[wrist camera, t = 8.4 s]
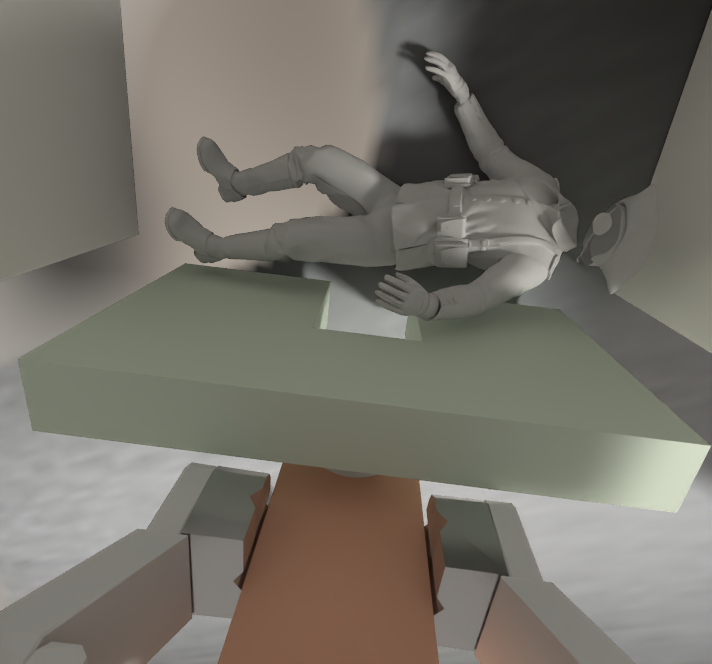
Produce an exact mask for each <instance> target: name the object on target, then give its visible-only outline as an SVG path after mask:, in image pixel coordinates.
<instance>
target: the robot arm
mask: <svg viewBox="0 0 712 664" xmlns="http://www.w3.org/2000/svg"><path fill="white" fill-rule="evenodd" d="M270 480H271V476H270V475H269V474H267V473H261V472H254V471H248V470H241V469H235V468H228V467H222V466H218V467H217V466H211V465H205V464H198V463H191V464H189V465H188V466H187V467H185V469H184V470H183V472H182V474H181V475H180V477H179V478H178V480H177V482H176V483H175V485H174V486H173V488H172V489H171V491H170V493H169V494H168V496H167V497H166V499H165V501H164V502H163V504H162V505H161V507H160V509H159V510H158V512H157V513H156V515H155V517H154V518H153V520H152V521H151V523H150V525H149V526H148V528H147V529H146V530H144V529H136V530H135V531H133V532H131V533H130V534H128V535H126V536H125V537H123V538H121V539H120V540H118V541H116V542H115V543H113V544H111V545H110V546H108V547H106V548H105V549H103V550H101V551H100V552H98V553H96V554H95V555H93V556H91V557H90V558H88V559H86V560H85V561H83V562H81V563H80V564H78V565H76V566H75V567H73V568H71V569H70V570H68V571H66V572H65V573H63V574H61V575H60V576H58V577H56V578H55V579H53V580H51V581H50V582H48V583H46V584H45V585H43V586H41V587H40V588H38V589H36V590H35V591H33V592H31V593H30V594H28V595H26V596H25V597H23V598H21V599H20V600H18V601H16V602H15V603H13V604H11V605H10V606H8V607H6V608H5V609H3V610H1V611H0V664H146V663H147V662H148V661H149V660H150V659H151V658H152V657H153V656H154V655H155V654H156V653H157V652H158V651H159V650H160V649H161V648H162V647H163V646H164V645H165V644H166V643H167V642H168V641H169V640H170V639H171V638H172V637H173V636H174V635H175V634H176V633H177V632H178V631H179V630H180V629H181V628H183V627H184V626H185V625H186V624H187V623H188V622H189V621H190V620H191V619H192V614H193V615H203V616H213V617H223V618H233V615H234V612H235V609H236V606H237V602H238V599H239V596H240V593H241V590H242V587H243V584H244V581H245V578H246V575H247V572H248V568H249V565H250V562H251V559H252V556H253V553H254V550H255V547H256V544H257V541H258V538H259V534H260V531H261V528H262V525H263V522H264V519H265V516H266V513H267V510H268V506H267V504H266V502H267V499H268V496H269V493H270ZM427 519H428V524H427V525H426V526H425V527H424V531H425V540H426V549H427V558H428V568H429V577H430V586H431V595H432V605H433V614H434V623H435V632H436V641H437V646H443V647H449V648H455V649H461V650H468V651H474V652H475V656H476V658H477V659H478V661H479V662H480V664H636V663H635V662H634V661H633V660H632V659H631V658H630V657H629V656H628V655H627V654H626V653H625V652H624V651H623V650H621V649H620V648H619V647H618V646H617V645H616V644H615V643H614V642H613V641H612V640H611V639H610V638H609V637H608V636H607V635H606V634H605V633H604V632H603V631H602V630H601V629H600V628H599V627H598V626H597V625H596V624H595V623H594V622H593V621H591V620H590V619H589V618H588V617H587V616H586V615H585V614H584V613H583V612H582V611H581V610H580V609H579V608H578V607H577V606H576V605H575V604H574V603H573V602H572V601H571V600H570V599H569V598H568V597H567V596H566V595H565V594H564V593H563V592H562V591H560V590H559V589H558V588H557V587H556V586H555V585H554V584H553V583H551V582H545V581H543V578H542V576H541V573H540V571H539V568H538V565H537V563H536V560H535V557H534V555H533V552H532V549H531V547H530V544H529V542H528V539H527V536H526V534H525V531H524V528H523V526H522V523H521V520H520V518H519V515H518V513H517V510H516V507H515V506H514V505H513V504H512V503H504V502H494V501H482V500H473V499H465V498H457V497H448V496H440V495H431V497H430V499H429V502H428V506H427Z"/></svg>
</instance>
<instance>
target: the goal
mask: <svg viewBox="0 0 712 664" xmlns="http://www.w3.org/2000/svg"><path fill="white" fill-rule="evenodd" d="M651 184H655V197H656V202H657V207H658V224H657V231H656V235H655V238H654V243H653V247H652V250H651V252H650V255H649V257H648V258H647V260H646V262H645V263H644V264H643V266H642V267H641V268H640V269H639V271H638V272H637V273H636V274H635V275H634V276H633V277H632V278H631V279H630V280H628V281H627V282H626V283H625V284H623V285H622V286H621V287H620V288H619V289H618V290H617V291H615V292H614V294H616V295H617V296H619V297H621V298H622V299H624V300H626V301H627V302H629V303H630V304H632V305H634V306H635V307H637V308H639V309H640V310H642V311H643V312H645V313H647V314H648V315H650V316H652V317H653V318H655V319H656V320H658V321H660V322H661V323H663V324H665V325H666V326H668V327H669V328H671V329H673V330H674V331H676V332H678V333H679V334H681V335H682V336H684V337H686V338H687V339H689V340H691V341H692V342H694V343H695V344H697V345H699V346H700V347H702V348H704V349H705V350H707V351H708V352H710V353H712V10H711V13H710V15H709V18H708V21H707V24H706V27H705V30H704V33H703V35H702V38H701V41H700V44H699V47H698V50H697V53H696V55H695V58H694V61H693V64H692V67H691V70H690V73H689V75H688V78H687V81H686V84H685V87H684V90H683V93H682V95H681V98H680V101H679V104H678V107H677V110H676V112H675V115H674V118H673V121H672V124H671V127H670V130H669V132H668V135H667V138H666V141H665V144H664V147H663V150H662V152H661V155H660V158H659V161H658V164H657V167H656V170H655V172H654V175H653V178H652V181H651ZM651 184H650V185H651ZM138 234H139V232H138V220H137V208H136V196H135V183H134V170H133V158H132V145H131V133H130V121H129V108H128V96H127V83H126V70H125V58H124V45H123V33H122V20H121V8H120V0H0V281H3V280H6V279H9V278H12V277H15V276H18V275H21V274H24V273H27V272H30V271H33V270H36V269H39V268H42V267H44V266H47V265H50V264H53V263H56V262H59V261H62V260H65V259H68V258H71V257H74V256H77V255H80V254H83V253H86V252H88V251H91V250H94V249H97V248H100V247H103V246H106V245H109V244H112V243H115V242H118V241H121V240H124V239H127V238H130V237H132V236H136V235H138Z"/></svg>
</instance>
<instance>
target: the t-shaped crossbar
mask: <svg viewBox="0 0 712 664" xmlns="http://www.w3.org/2000/svg"><path fill="white" fill-rule="evenodd" d="M330 287H331V281H324V280H316V279H308V278H300V277H292V276H284V275H275V274H267V273H259V272H251V271H243V270H235V269H227V268H219V267H210V266H202V265H193V264H186V263H185V264H184V265H182V266H180V267H178V268H177V269H175V270H173V271H171V272H170V273H168V274H166V275H164V276H162V277H161V278H159V279H157V280H155V281H154V282H152V283H150V284H148V285H147V286H145V287H143V288H141V289H140V290H138V291H136V292H134V293H132V294H131V295H129V296H127V297H125V298H124V299H122V300H120V301H119V302H117V303H115V304H113V305H111V306H110V307H108V308H106V309H104V310H102V311H101V312H99V313H97V314H95V315H94V316H92V317H90V318H88V319H87V320H85V321H83V322H81V323H80V324H78V325H76V326H74V327H72V328H71V329H69V330H67V331H65V332H64V333H62V334H60V335H58V336H57V337H55V338H53V339H51V340H50V341H48V342H46V343H44V344H42V345H41V346H39V347H37V348H35V349H34V350H32V351H30V352H28V353H27V354H25V355H23V356H21V357H20V358H18V363H19V368H20V373H21V378H22V382H23V387H24V392H25V397H26V402H27V406H28V411H29V416H30V421H31V426H32V430H33V431H40V432H48V433H56V434H63V435H71V436H79V437H87V438H95V439H103V440H110V441H118V442H126V443H134V444H142V445H150V446H157V447H165V448H173V449H181V450H189V451H196V452H204V453H212V454H220V455H228V456H236V457H243V458H251V459H259V460H267V461H275V462H283V463H282V466H281V470H280V473H279V476H278V479H277V482H276V485H275V488H274V491H273V494H272V497H271V500H270V504H269V507H268V510H267V513H266V516H265V519H264V522H263V525H262V528H261V531H260V534H259V538H258V541H257V544H256V547H255V550H254V553H253V556H252V559H251V562H250V565H249V568H248V572H247V575H246V578H245V581H244V584H243V587H242V590H241V593H240V596H239V599H238V602H237V606H236V609H235V612H234V615H233V618H232V621H231V624H230V627H229V630H228V633H227V636H226V640H225V643H224V646H223V649H222V652H221V655H220V658H219V661H218V664H439V660H438V651H437V641H436V632H435V623H434V614H433V605H432V595H431V586H430V577H429V568H428V558H427V549H426V540H425V531H424V521H423V512H422V503H421V494H420V484H419V480H424V481H431V482H439V483H447V484H455V485H463V486H471V487H478V488H486V489H494V490H502V491H510V492H518V493H525V494H533V495H541V496H549V497H557V498H564V499H572V500H580V501H588V502H596V503H604V504H611V505H619V506H627V507H635V508H643V509H651V510H658V511H666V512H674V513H677V512H678V510H679V508H680V506H681V504H682V502H683V500H684V498H685V496H686V494H687V492H688V490H689V488H690V486H691V484H692V482H693V481H694V479H695V477H696V475H697V473H698V471H699V469H700V467H701V465H702V463H703V461H704V459H705V457H706V455H707V453H708V451H709V449H710V447H711V445H710V444H709V443H707V442H706V441H705V440H704V439H703V438H702V437H701V436H700V435H699V434H697V433H696V432H695V431H694V430H693V429H692V428H691V427H690V426H688V425H687V424H686V423H685V422H684V421H683V420H682V419H681V418H680V417H678V416H677V415H676V414H675V413H674V412H673V411H672V410H671V409H670V408H668V407H667V406H666V405H665V404H664V403H663V402H662V401H661V400H660V399H658V398H657V397H656V396H655V395H654V394H653V393H652V392H651V391H650V390H648V389H647V388H646V387H645V386H644V385H643V384H642V383H641V382H640V381H638V380H637V379H636V378H635V377H634V376H633V375H632V374H631V373H630V372H628V371H627V370H626V369H625V368H624V367H623V366H622V365H621V364H620V363H618V362H617V361H616V360H615V359H614V358H613V357H612V356H611V355H610V354H608V353H607V352H606V351H605V350H604V349H603V348H602V347H601V346H599V345H598V344H597V343H596V342H595V341H594V340H593V339H592V338H591V337H589V336H588V335H587V334H586V333H585V332H584V331H583V330H582V329H581V328H579V327H578V326H577V325H576V324H575V323H574V322H573V321H572V320H571V319H569V318H568V317H567V316H566V315H565V314H564V313H563V312H562V311H561V310H559V309H552V308H544V307H536V306H528V305H520V304H512V303H503V304H501V305H500V306H498V307H496V308H494V309H491V310H488V311H486V312H484V313H483V314H481V315H479V316H478V317H472V318H465V319H455V320H435V321H430V322H428V321H424V320H423V319H421V318H420V317H416V316H408V319H407V325H406V331H405V339H399V338H390V337H382V336H374V335H366V334H358V333H350V332H342V331H334V330H326V327H327V320H328V309H329V298H330Z"/></svg>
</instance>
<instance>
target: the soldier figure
mask: <svg viewBox="0 0 712 664" xmlns="http://www.w3.org/2000/svg"><path fill="white" fill-rule="evenodd" d="M426 55H427V56H428V57H425V58H424V59H425V61H427V62H429V63H432V64H435V65H437V66H438V67H439V68H440V69H439V68H436V67H429V66H426V67H425V68H426V70H428V71H429V72H432V73H435V74H437V75H433V77H432V79H433V80H435V81H437V82H439V83H441V84H442V85H444V86H445V87H446V88H447V90H448V91H449V92H450V93H451V95H452V96H453V97H455V99H456V101H457V103H456V105H455V107H454V111H455V115H456V116H457V118H458V120H459V122H460V125H461V128H462V130H463V132H464V135H465V137H466V140H467V143H468V145H469V148H470V150H471V152H472V153H473V156H474V158H475V159H476V160H477V161H478V162H479V167H480V169H481V170H482V171H483V172H484V173H485V174H487V176H488V177H489V179H490V180H489V181H480V179H479V176H478V175H472V173H466V174H451V175H448V176H447V177H445V178H444V181H443V180H437V181H432V182H424V183H420V184H412V183H406V184H403V186H402V187H400V186H398V185H397V184H395V183H394V182H392V181H391V180H389V179H388V178H386V177H385V176H384V175H382V174H381V173H379V172H378V171H376V170H375V169H374V168H373V167H371V166H370V165H369V164H368V163H366V162H365V161H363V160H361V159H359V158H357V157H355V156H353V155H351V154H349V153H347V152H345V151H343V150H341V149H339V148H337V147H335V146H332V145H325V146H323V147H321V148H318V147H315V146H312V145H310V146H306V147H303V146H301V147H294V149H293V150H292V151H291V153H287V154H285V155H283V156H281V157H279V158H277V159H275V160H273V161H270V162H268V163H265V164H262V165H260V166H257V167H255V168H249V169H246V170H243V171H241V172H239V170H238V169H237V168H236V167H234V166H233V165H232V164H230V163H229V162H228V161H227V159H226V157H225V156H224V154H223V153H222V152H221V150H220V148H219V147H218V146H217V144H216V143H215V142H214V141H212V140H211V139H209V138H206V137H202V138H201V139H200V141H199V142H198V145H197V155H198V159H199V162H200V165H201V166H202V168H203V170H204V171H206V172H208V173H210V174H212V175H213V176H214V177H215V178H216V180H217V182H218V183H219V188H218V189H219V190H218V191H219V193H220V195H221V197H222V199H223V200H224V201H225V202H231V201H233V202H236V201H240V200H243V199H244V198H246V195H253V196H254V195H260V194H264V193H266V192H269V191H280V190H285V189H290V188H300V187H301V186H302V185H303V183H306V185H307V184H308V183H312V184H315V185H316V188H317V190H318V191H320V192H321V193H322V194H327V196H328V197H329V199H330V200H331V201H332V202H333V203H334V204H335V205H337V206H338V207H339V208H341V209H343V210H345V211H347V212H349V213H351V214H352V215H353V216H350V217H323V216H315V217H306V218H301V219H291V220H289V221H288V222H285V223H275V224H273V225H272V227H271V229H266V230H260V231H254V232H248V233H242V234H235V235H231V236H227V237H224V238H222V237H220V236H217V235H214V233H213V232H211V231H209V230H207V229H206V228H204V227H203V226H202V225H201V224H200V223H199V222H198V221H196V220H195V219H194V218H193V217H192V216H191V215H189V214H188V213H187V212H185V211H182V210H180V209H176V208H170V209H169V211H168V212H167V214H166V217H165V226H166V229H167V231H168V233H169V234H170V236H171V237H172V238H173V239H175V240H176V241H182V242H183V243H185V244H187V245H189V246H191V247H192V248H193V249H194V250H195V251H194V254H195V256H196V258H197V259H198V260H199V261H200V262H202V263H208V262H209V263H214V262H217V261H220V260H222V259H225V258H228V259H246V260H259V261H273V260H276V259H277V260H281V259H282V258H284V257H285V256H288V257H289V258H291V259H293V260H299V261H307V262H327V263H337V264H345V265H358V266H363V267H376V266H389V265H395V269H394V270H399V271H404V270H411V269H415V268H423V267H428V266H436V267H456V268H466V267H467V264H468V263H469V264H471V265H473V266H475V267H477V268H480V269H483V270H486V271H485V272H484V273H483V274H482V275H481V276H480V277H479V278H477V279H476V280H474V281H473V282H471V283H470V284H467V285H457V286H451V287H448V288H442V289H439V290H437V291H435V292H431V293H428V292H427V291H426V290H425V289H424V288H423V287H422V286H421V285H420V284H419V283H417V282H416V281H415V280H414V279H412V278H411V277H409V276H407V275H404V274H401V273H396V276H397V277H398V278H399V279H401V280H399V279H397V278H395V277H393V276H390V275H385V277H384V279H385V280H386V281H388V282H390V283H391V284H393V285H395V286H397V287H399V288H401V289H402V290H404V291H406V292H402V291H400V290H398V289H395V288H393V287H391V286H389V285H387V284H385V283H382V282H380V283H379V284H378V286H379V287H380V288H381V289H383V290H385V291H387V292H388V293H390V294H392V295H394V296H396V297H398V298H400V299H402V300H399V299H396V298H393V297H391V296H389V295H387V294H385V293H383V292H382V291H380V290H377V291H376V292H375V294H376V295H377V296H378V297H380V298H382V299H383V300H385V301H386V302H384V301H382V300H380V299H377V300H376V303H377V304H378V305H380V306H382V307H384V308H386V309H388V310H390V311H392V312H395V313H397V314H400V315H404V316H416V317H420V318H421V319H423V320H424V321H428V322H430V321H435V320H455V319H465V318H472V317H478V316H479V315H481V314H483V313H484V312H486V311H488V310H491V309H494V308H496V307H498V306H500V305H501V304H503V303H505V302H506V301H508V300H509V299H511V298H512V297H518V296H520V295H521V294H522V293H524V292H526V291H528V290H530V289H532V288H535V287H537V286H538V285H539V284H541V283H542V282H543V281H544V280H545V279H547V280H550V278H551V275H552V273H553V271H554V269H555V267H556V266H557V264H558V263H559V260H560V257H561V253H563V251H565V252H567V251H569V250H571V249H573V248H575V247H577V246H578V245H577V227H578V223H579V219H578V212H577V209H576V208H575V206H574V205H573V204H572V203H571V202H570V201H569V200H568V199H566V198H564V197H563V196H562V195H561V193H560V186H559V181H558V179H557V178H552V176H551V175H549V174H547V173H545V172H543V171H542V170H541V169H540V168H538V167H536V166H535V165H532V164H531V163H529V162H528V161H525V160H523V159H521V158H519V157H518V156H516V155H515V154H513V153H512V152H511V151H510V150H509V148H508V147H507V146H504V143H503V140H502V139H501V138H500V137H499V136H498V134H497V133H496V130H495V129H494V128H493V127H492V125H491V124H490V122H489V121H488V119H487V118H486V116H485V114H484V112H483V110H482V108H481V107H480V105H479V103H478V101H477V99H476V97H475V96H474V94H473V93H471V94H469V88H468V86H467V84H466V82H465V81H464V80H463V78H462V77H461V76H460V75H459V74H458V72H457V70H456V67H455V65H454V64H453V63H451V62H450V61H449V60H448V59H447V58H446V57H445V56H444V55H442V54H440V53H438V52H433V51H430V52H427V53H426ZM657 224H658V207H657V202H656V197H655V184H651V185H650V186H649V187H647V188H646V189H645V190H643V191H642V192H640V193H639V194H636V195H633V196H630V197H627V198H625V199H622V200H621V201H619V202H617V203H616V204H613V205H612V206H610V207H609V208H608V209H607V210H605V211H604V212H603V213H600V214H598V215H597V216H596V217H595V219H594V221H593V223H592V224H591V225H590V227H589V229H588V231H587V233H586V235H585V238H584V240H583V245H582V253H581V255H582V259H581V260H580V261H582V260H583V263H584V264H585V265H588V266H599V268H600V269H601V270H602V272H603V274H604V276H605V278H606V282H607V287H608V291H609V293H610V294H613V293H614V292H615V291H617V290H618V289H619V288H620V287H621V286H622V285H623V284H625V283H626V282H627V281H628V280H630V279H631V278H632V277H633V276H634V275H635V274H636V273H637V272H638V271H639V269H640V268H641V267H642V266H643V264H644V263H645V262H646V260H647V258H648V257H649V255H650V252H651V250H652V247H653V243H654V238H655V235H656V231H657ZM581 255H580V256H581ZM580 256H579V257H580ZM579 257H578V258H579ZM578 258H577V263H579V262H580V261H579V260H578ZM578 261H579V262H578ZM402 280H403V281H402ZM404 281H405V282H404ZM387 302H388V303H387ZM389 303H390V304H389Z"/></svg>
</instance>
